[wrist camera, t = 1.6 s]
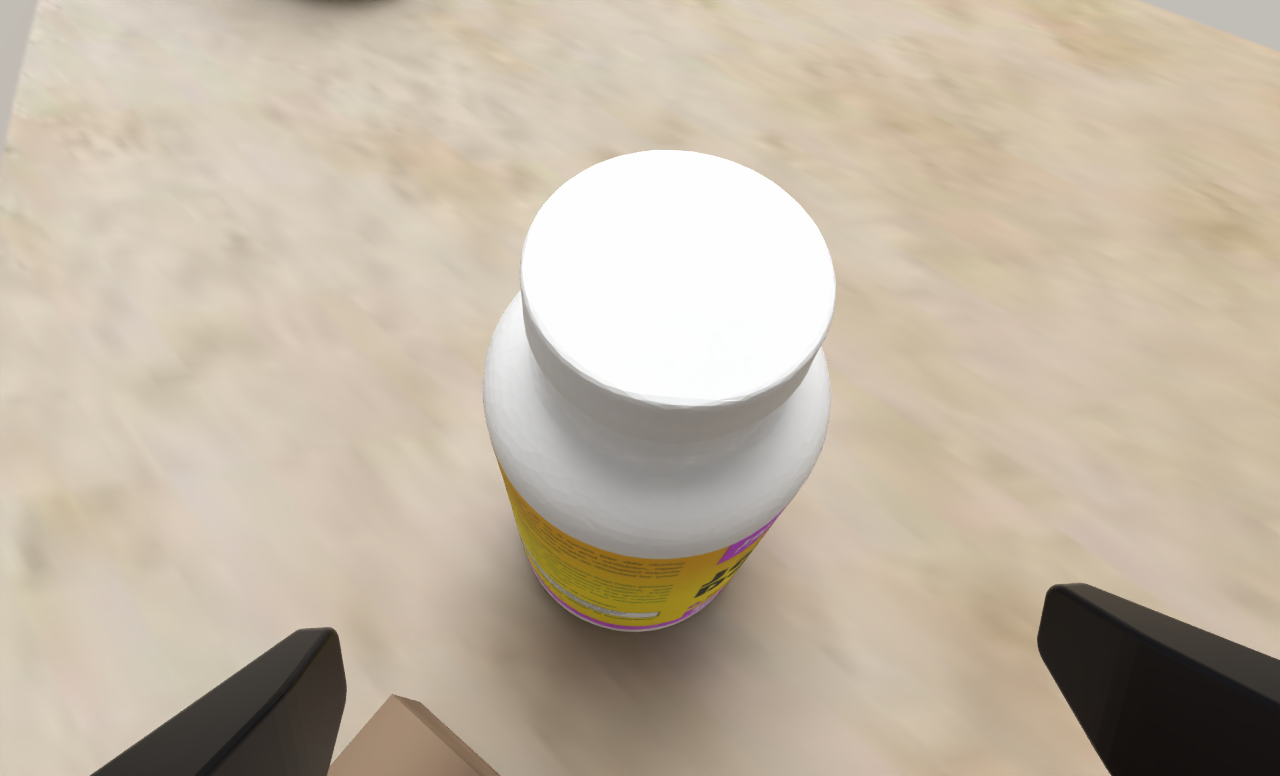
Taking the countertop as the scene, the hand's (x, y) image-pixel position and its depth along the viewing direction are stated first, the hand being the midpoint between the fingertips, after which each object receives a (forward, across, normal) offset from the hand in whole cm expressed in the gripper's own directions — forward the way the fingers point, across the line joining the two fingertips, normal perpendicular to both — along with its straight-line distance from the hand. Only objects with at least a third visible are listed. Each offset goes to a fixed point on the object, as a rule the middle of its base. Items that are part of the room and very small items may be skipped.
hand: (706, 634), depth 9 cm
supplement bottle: (+12, 0, +5) cm, 13 cm away
